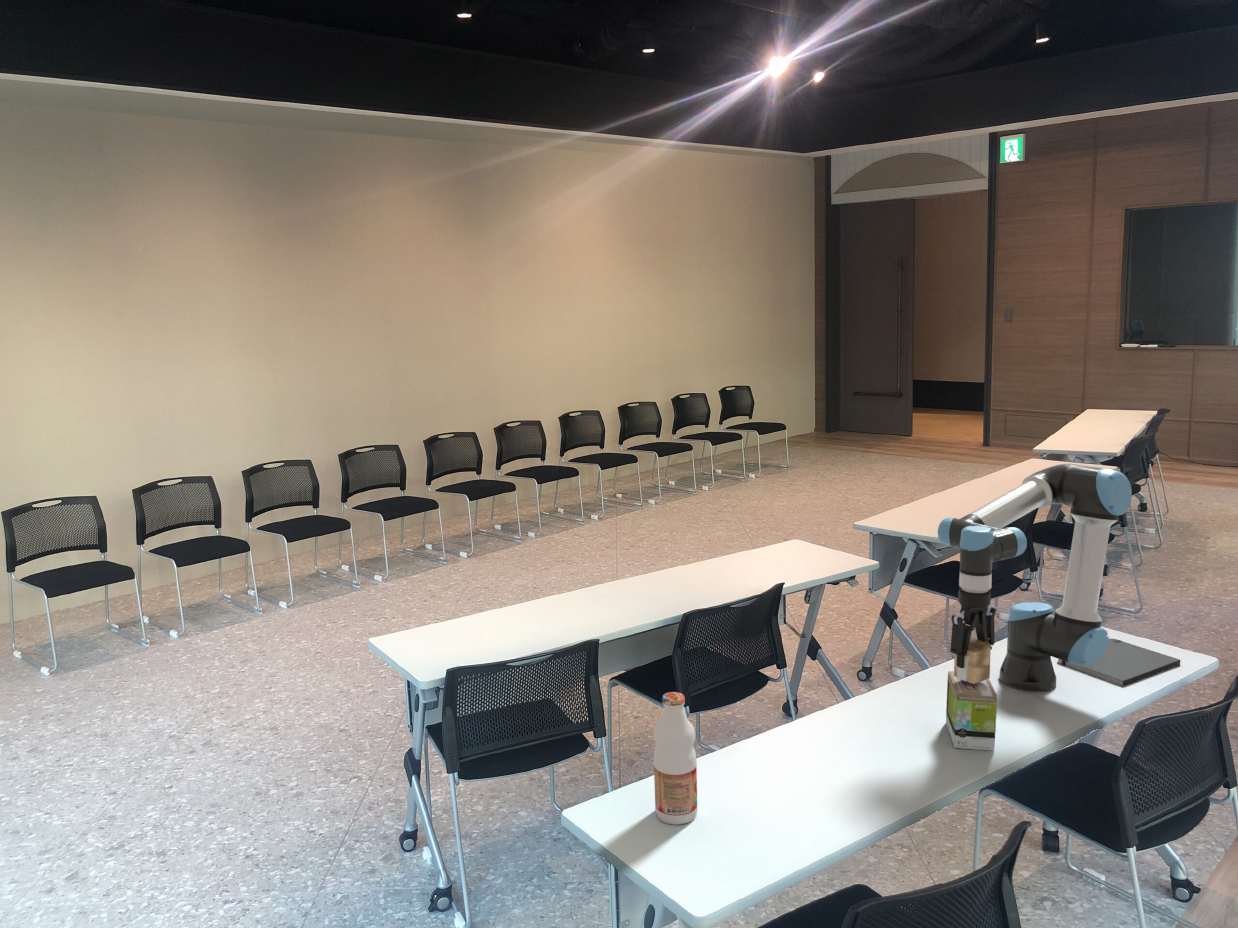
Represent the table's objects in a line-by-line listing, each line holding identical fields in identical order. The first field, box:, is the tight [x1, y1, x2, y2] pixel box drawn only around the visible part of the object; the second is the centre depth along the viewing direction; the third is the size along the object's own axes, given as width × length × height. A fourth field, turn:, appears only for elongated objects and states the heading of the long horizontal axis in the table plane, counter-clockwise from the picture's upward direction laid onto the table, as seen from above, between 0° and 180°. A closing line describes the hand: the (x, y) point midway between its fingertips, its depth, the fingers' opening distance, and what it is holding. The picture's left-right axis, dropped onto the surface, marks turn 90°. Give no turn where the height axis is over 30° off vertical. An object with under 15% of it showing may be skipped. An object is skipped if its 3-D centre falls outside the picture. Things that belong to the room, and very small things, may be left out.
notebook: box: [1057, 638, 1181, 687], centre depth 277 cm, size 22×2×28 cm
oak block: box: [953, 636, 992, 684], centre depth 232 cm, size 6×6×9 cm
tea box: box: [945, 670, 998, 751], centre depth 234 cm, size 15×10×15 cm, turn 168°
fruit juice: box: [653, 691, 698, 826], centre depth 202 cm, size 9×9×28 cm
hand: (971, 675), depth 233 cm, fingers closed on oak block, 6 cm apart
